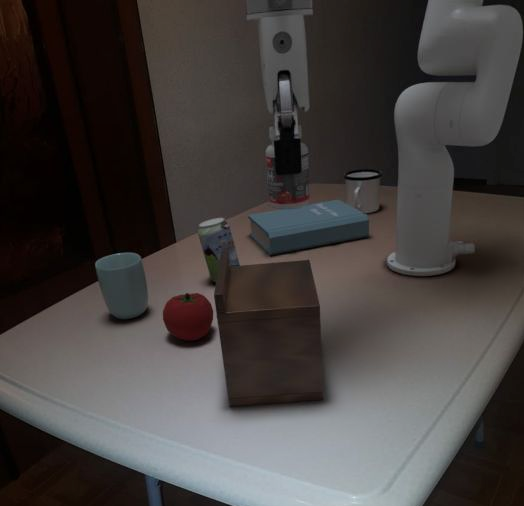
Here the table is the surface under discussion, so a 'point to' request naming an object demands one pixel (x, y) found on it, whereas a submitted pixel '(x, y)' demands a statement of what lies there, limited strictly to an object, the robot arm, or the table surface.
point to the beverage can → (216, 244)
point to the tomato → (188, 316)
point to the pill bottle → (287, 179)
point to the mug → (363, 189)
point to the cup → (123, 284)
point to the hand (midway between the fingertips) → (287, 167)
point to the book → (308, 226)
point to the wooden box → (269, 332)
